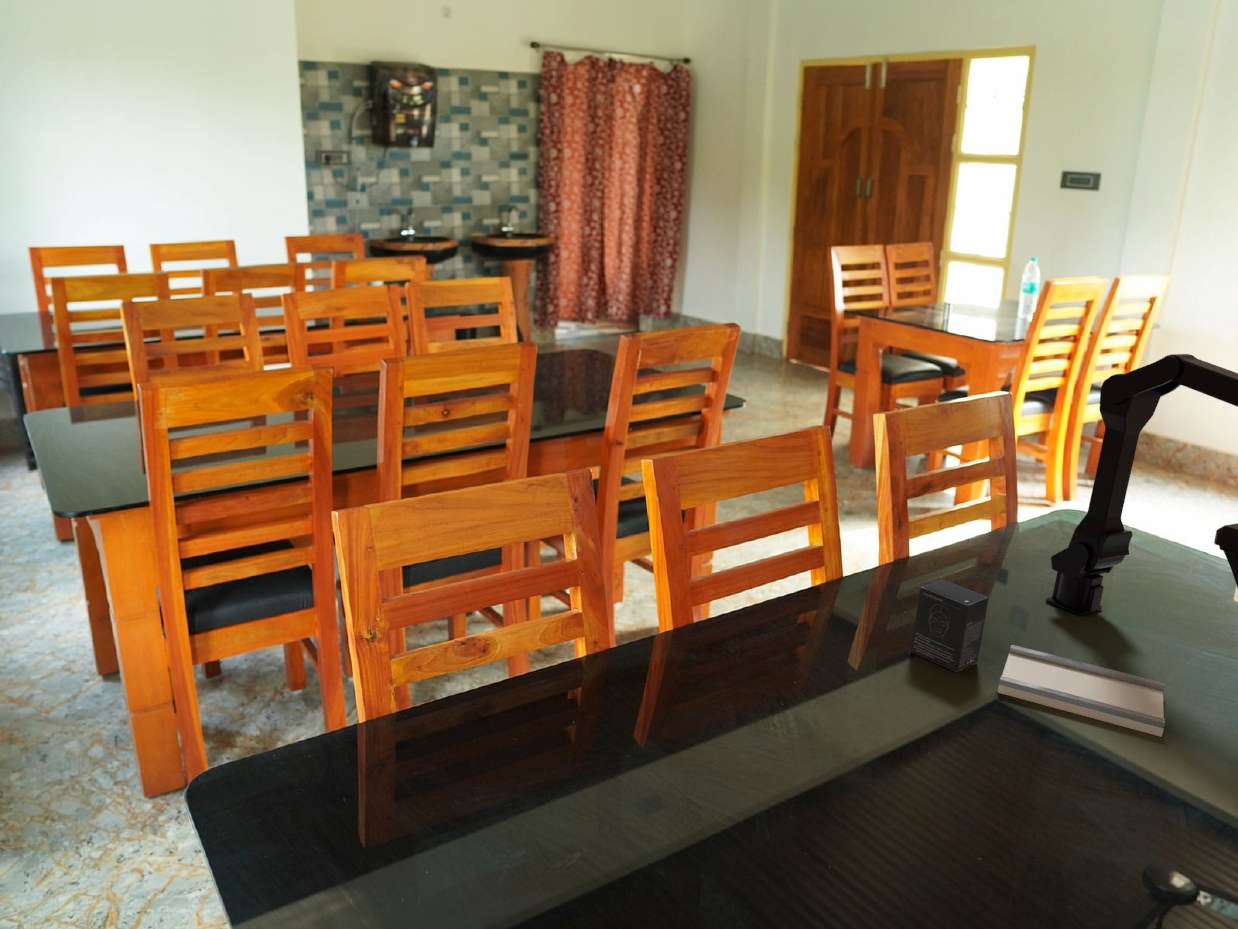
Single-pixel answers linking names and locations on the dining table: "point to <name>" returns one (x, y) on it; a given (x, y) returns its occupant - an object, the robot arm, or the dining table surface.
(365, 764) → the dining table surface
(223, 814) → the dining table surface
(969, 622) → the box
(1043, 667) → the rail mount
